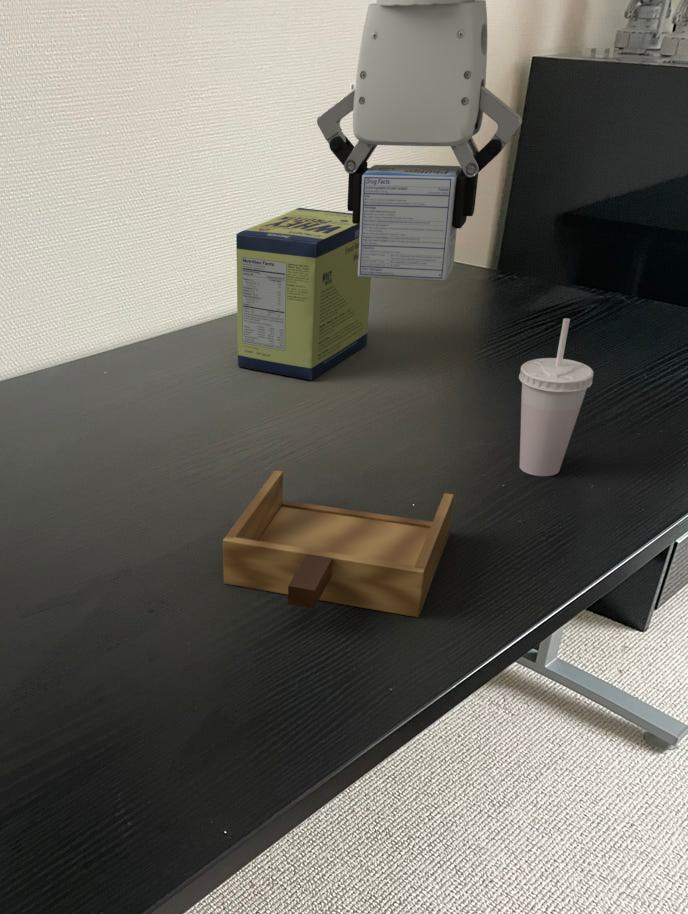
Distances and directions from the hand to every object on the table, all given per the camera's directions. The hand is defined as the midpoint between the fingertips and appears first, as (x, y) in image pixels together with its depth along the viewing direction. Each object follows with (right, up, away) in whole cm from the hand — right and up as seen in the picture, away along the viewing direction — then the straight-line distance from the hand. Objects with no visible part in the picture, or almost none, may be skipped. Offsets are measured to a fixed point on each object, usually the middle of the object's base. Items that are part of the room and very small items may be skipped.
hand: (409, 221), depth 85 cm
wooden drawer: (-7, -31, -6) cm, 32 cm away
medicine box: (0, -4, +3) cm, 5 cm away
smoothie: (+14, -20, +9) cm, 26 cm away
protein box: (-6, -1, +37) cm, 37 cm away
